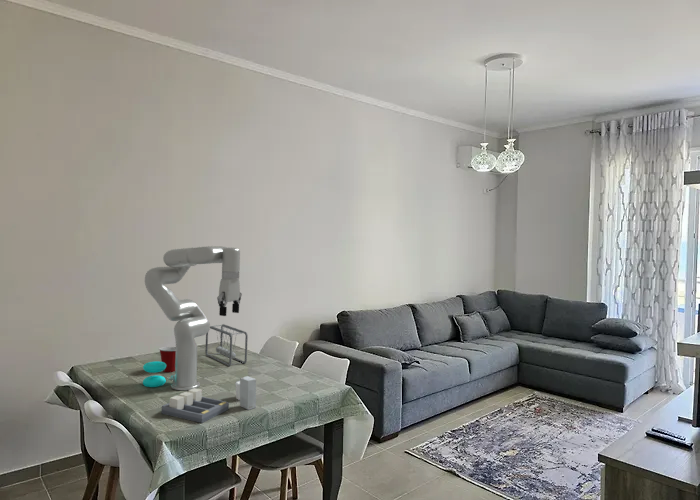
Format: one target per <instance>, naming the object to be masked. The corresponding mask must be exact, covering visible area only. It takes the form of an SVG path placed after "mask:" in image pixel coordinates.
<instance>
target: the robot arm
mask: <svg viewBox="0 0 700 500" xmlns="http://www.w3.org/2000/svg"><path fill="white" fill-rule="evenodd" d="M163 263H164V264H165V265H166V266H157V267H152V268H150V269H149V270H147V271H146V273H145V275H144V286H145V288H146V290H147V292H148V293H149V295H150V296H151V297H152V298H153V299H154V300H155V302H156V303H157V305H158V306H159V307H160V309H161V310H162V312H163V313H164V315H165V316H166V318H167V319H168V320H170V321H172V322H176V323H175V324H174V327H173V333H174V340H175V347H176V359H175V371H174V374H171V375H170V376H169V378H168V379H169V380H170V381H172V383H171V385H170V388H171V389H172V390H176V391H189V390H191V389H194V388H196V389H198V388H199V387H200V384H201V383H200V381H198V380H197V376H198V374H197V373H198V372H197V371H198V370H197V368H198V345H197V342H196V340H195V338H197V337H203V336H206V334H207V333H208V334H209V332H210V330H211V328H210V326H211V324H210V321H209V319H208V318H207V316H206V314H205V313H204V311H203V310H202V309H201V307H200V306H199V305H198V304H197V303H196V301H194V300H193V299H188V298H187V299H186V298H185V299H179V297H177V295H176V294H175V292H174V291H173V290H172V289H170V288H169V287H167V286H166V285H172V284H173V285H174V284H177V283H179V282H180V281H181V280H182V279H183V277H184V276H185V274H186V273H188V271H189V269H190V268H191V267H195V266H198V265H203V264H204V265H205V264H206V265H207V264H208V265H209V264H221V279H220V282H219V289H218V296H217V297H216V299H217V304H218V307H219V313H218V314H219V316H221V317H227V313H228V311H227V310H228V309H227V304H228V303H231V302H232V307H231V309H232V310H231V312H232V313H233V314H234V313H235V314H239V313H240V304H241V299H242V296H243V293H242V292H241V288H240V286H241V285H240V265H241V249H240V248H238V247H226V246H213V245H211V246H209V245H208V246H201V247H200V246H197V247H186V248H185V247H184V248H175V249H170V250H167V251H166V252H165V253H164V255H163Z"/></svg>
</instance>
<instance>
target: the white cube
mask: <svg viewBox="0 0 700 500" xmlns="http://www.w3.org/2000/svg"><path fill="white" fill-rule="evenodd" d="M169 403H170V405H169V407H172V408H176V409H183V408H184V397H181V396H179V395H176V394H175V395H174V396H172V397H169Z"/></svg>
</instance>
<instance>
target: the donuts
mask: <svg viewBox="0 0 700 500" xmlns="http://www.w3.org/2000/svg"><path fill="white" fill-rule="evenodd" d="M142 366H143V367H142V369H143V371H145V372H146V373H150V374H151V373H152V374H156V373H161V372H163V370H164V369H165V368H166V364H165V363H164V362H162V361H156V360H155V361H149V362H146V363H145V364H143V365H142ZM166 382H167V380H166V378H165V377H164V376H163V375H159V374H158V375H149V376H147V377H144V379H143V380H142V385H143V386H144V387H147V388H158V387H162V386H164V385H165V384H166Z"/></svg>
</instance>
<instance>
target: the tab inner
mask: <svg viewBox="0 0 700 500" xmlns="http://www.w3.org/2000/svg"><path fill="white" fill-rule="evenodd" d="M187 392H189V393H193V400H195V401H201V400H202V397H203V389H200V388H194V389H191V390H187Z"/></svg>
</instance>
